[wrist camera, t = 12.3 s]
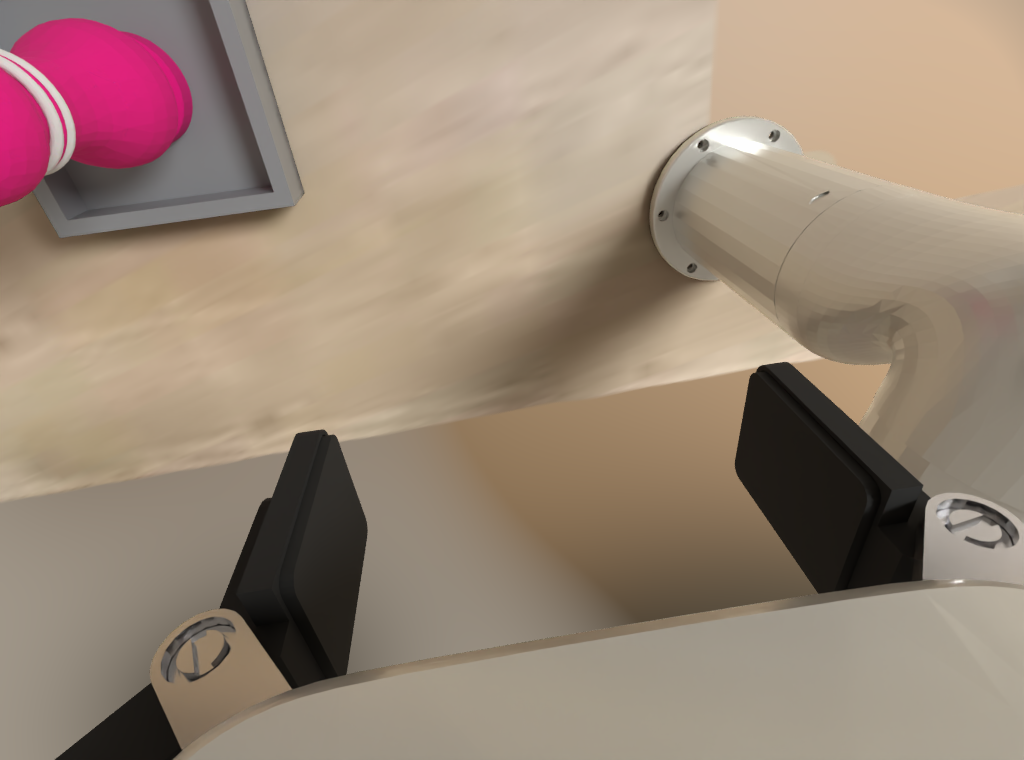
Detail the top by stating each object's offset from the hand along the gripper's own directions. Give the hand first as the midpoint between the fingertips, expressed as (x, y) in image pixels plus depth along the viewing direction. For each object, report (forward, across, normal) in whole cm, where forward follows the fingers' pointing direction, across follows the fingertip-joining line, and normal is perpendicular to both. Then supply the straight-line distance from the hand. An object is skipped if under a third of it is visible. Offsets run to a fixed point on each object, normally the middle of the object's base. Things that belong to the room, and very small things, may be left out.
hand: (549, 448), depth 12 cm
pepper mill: (+31, +20, -7) cm, 37 cm away
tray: (+31, +20, -7) cm, 38 cm away
